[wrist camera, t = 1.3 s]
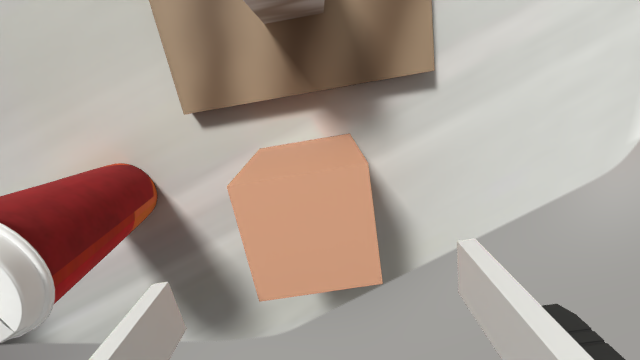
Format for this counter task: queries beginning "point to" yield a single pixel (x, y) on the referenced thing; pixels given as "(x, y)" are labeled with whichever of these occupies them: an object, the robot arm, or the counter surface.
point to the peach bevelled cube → (307, 218)
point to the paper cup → (63, 237)
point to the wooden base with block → (288, 46)
